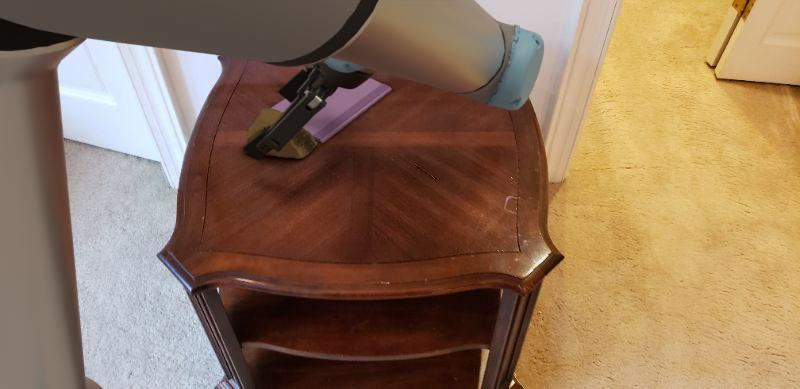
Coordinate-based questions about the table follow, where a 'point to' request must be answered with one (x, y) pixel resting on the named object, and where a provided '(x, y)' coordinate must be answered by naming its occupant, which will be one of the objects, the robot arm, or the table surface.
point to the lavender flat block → (341, 108)
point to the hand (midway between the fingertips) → (268, 123)
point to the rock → (294, 148)
